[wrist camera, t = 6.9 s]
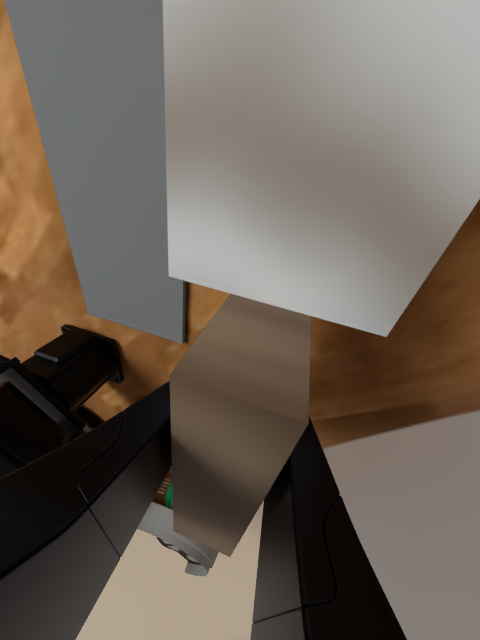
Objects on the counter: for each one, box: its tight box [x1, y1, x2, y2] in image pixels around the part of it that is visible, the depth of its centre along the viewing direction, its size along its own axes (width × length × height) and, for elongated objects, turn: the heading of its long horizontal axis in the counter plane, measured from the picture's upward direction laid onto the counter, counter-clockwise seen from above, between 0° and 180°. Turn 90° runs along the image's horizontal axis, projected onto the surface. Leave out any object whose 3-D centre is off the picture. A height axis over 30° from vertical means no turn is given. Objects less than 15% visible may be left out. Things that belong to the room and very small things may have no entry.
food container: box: [137, 466, 218, 576], centre depth 27 cm, size 12×6×10 cm, turn 25°
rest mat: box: [4, 0, 186, 343], centre depth 15 cm, size 22×10×1 cm, turn 171°
